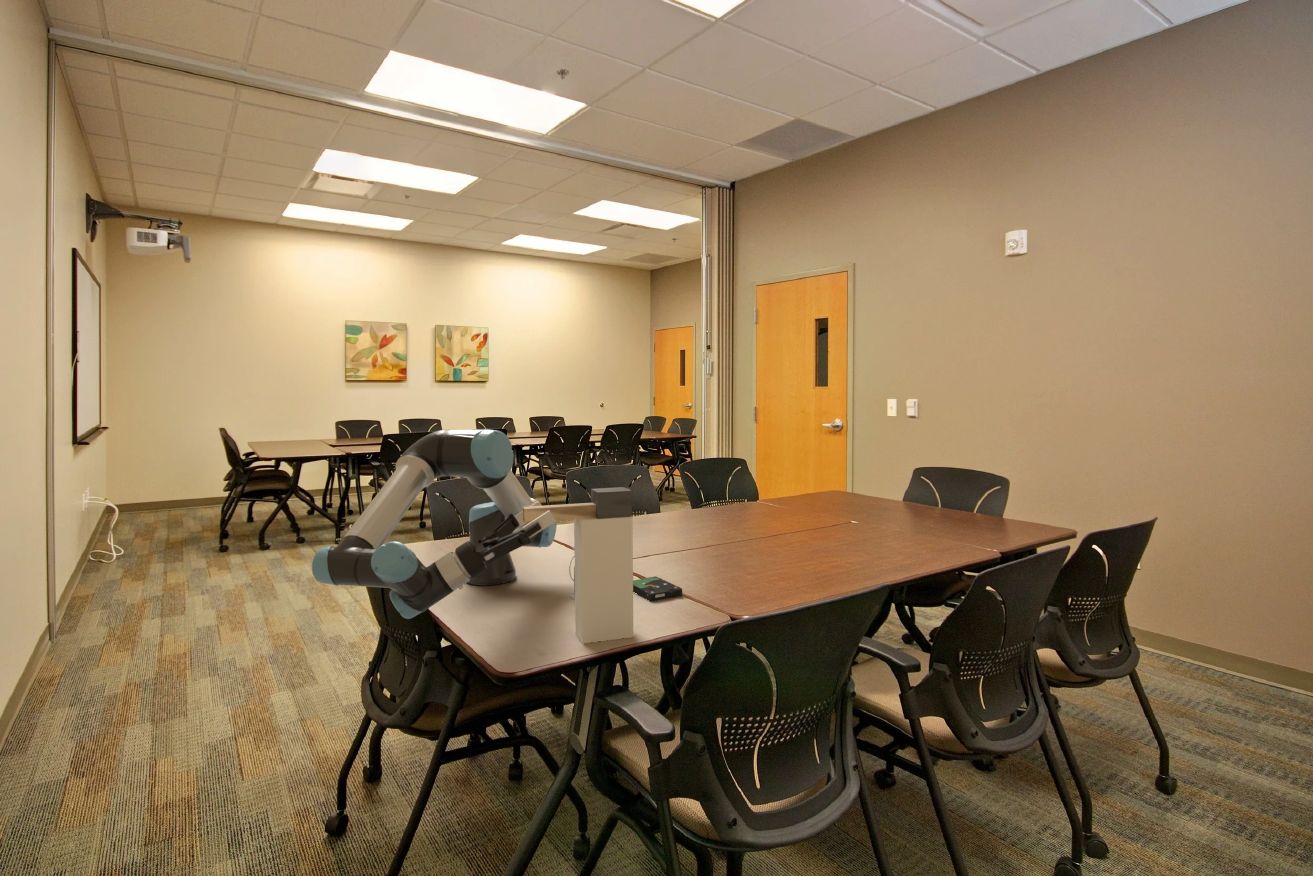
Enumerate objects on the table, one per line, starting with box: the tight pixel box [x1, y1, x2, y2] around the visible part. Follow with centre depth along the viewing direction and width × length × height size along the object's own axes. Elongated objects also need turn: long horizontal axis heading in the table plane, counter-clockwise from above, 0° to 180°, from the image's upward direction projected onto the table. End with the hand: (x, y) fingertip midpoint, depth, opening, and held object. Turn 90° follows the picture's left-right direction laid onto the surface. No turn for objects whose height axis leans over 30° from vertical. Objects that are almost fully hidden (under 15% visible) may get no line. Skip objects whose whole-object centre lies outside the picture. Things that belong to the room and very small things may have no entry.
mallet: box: [523, 486, 633, 523], centre depth 154 cm, size 6×24×6 cm, turn 109°
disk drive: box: [633, 575, 683, 603], centre depth 192 cm, size 10×3×15 cm
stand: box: [573, 516, 634, 645], centre depth 158 cm, size 7×12×28 cm, turn 109°
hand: (547, 510), depth 152 cm, fingers open, 13 cm apart
